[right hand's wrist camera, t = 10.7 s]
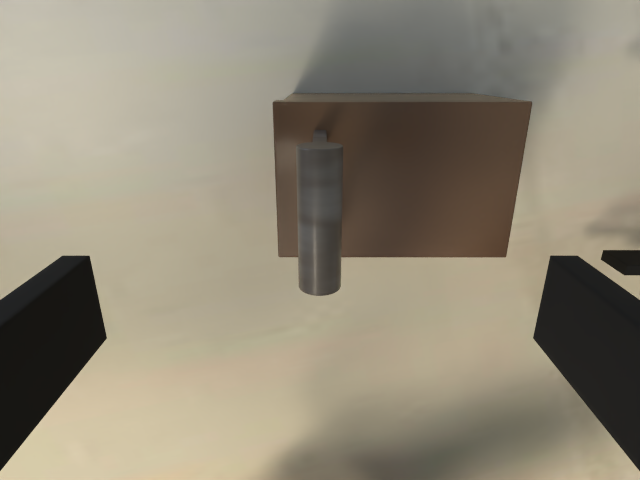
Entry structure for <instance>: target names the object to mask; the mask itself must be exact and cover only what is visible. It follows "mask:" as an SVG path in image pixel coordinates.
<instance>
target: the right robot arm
mask: <svg viewBox="0 0 640 480" xmlns="http://www.w3.org/2000/svg"><path fill="white" fill-rule="evenodd" d="M106 338H107V337H106V332H105V327H104V323H103V318H102V313H101V308H100V304H99V299H98V294H97V289H96V285H95V280H94V275H93V270H92V265H91V261H90V256H62V257H60V258H59V259H57V260H56V261H55V262H53V263H52V264H50V265H49V266H48V267H46V268H45V269H43V270H42V271H41V272H39V273H38V274H36V275H35V276H34V277H32V278H31V279H29V280H28V281H27V282H25V283H24V284H22V285H21V286H20V287H18V288H17V289H15V290H14V291H12V292H11V293H10V294H8V295H7V296H5V297H4V298H3V299H1V300H0V471H1V469H2V468H3V467H4V466H5V464H6V463H7V462H8V461H9V459H10V458H11V457H12V456H13V454H14V453H15V452H16V451H17V449H18V448H19V447H20V446H21V444H22V443H23V442H24V441H25V439H26V438H27V437H28V436H29V434H30V433H31V432H32V431H33V429H34V428H35V427H36V426H37V424H38V423H39V422H40V421H41V420H42V418H43V417H44V416H45V415H46V413H47V412H48V411H49V410H50V408H51V407H52V406H53V405H54V403H55V402H56V401H57V400H58V398H59V397H60V396H61V395H62V393H63V392H64V391H65V390H66V388H67V387H68V386H69V385H70V383H71V382H72V381H73V380H74V378H75V377H76V376H77V375H78V373H79V372H80V371H81V370H82V368H83V367H84V366H85V365H86V363H87V362H88V361H89V360H90V358H91V357H92V356H93V355H94V353H95V352H96V351H97V350H98V348H99V347H100V346H101V345H102V343H103V342H104V341H105V340H106ZM533 338H534V340H535V341H536V342H537V343H538V345H539V346H540V347H541V348H542V350H543V351H544V352H545V353H546V355H547V356H548V357H549V358H550V360H551V361H552V362H553V363H554V365H555V366H556V367H557V368H558V370H559V371H560V372H561V373H562V375H563V376H564V377H565V378H566V380H567V381H568V382H569V383H570V385H571V386H572V387H573V388H574V390H575V391H576V392H577V393H578V395H579V396H580V397H581V398H582V400H583V401H584V402H585V403H586V405H587V406H588V407H589V408H590V410H591V411H592V412H593V413H594V415H595V416H596V417H597V418H598V420H599V421H600V422H601V423H602V425H603V426H604V427H605V428H606V429H607V431H608V432H609V433H610V434H611V436H612V437H613V438H614V439H615V441H616V442H617V443H618V444H619V446H620V447H621V448H622V449H623V451H624V452H625V453H626V454H627V456H628V457H629V458H630V459H631V461H632V462H633V463H634V464H635V466H636V467H637V468H638V469H639V471H640V300H639V299H637V298H636V297H635V296H633V295H632V294H630V293H629V292H627V291H626V290H625V289H623V288H622V287H620V286H619V285H618V284H616V283H615V282H613V281H612V280H611V279H609V278H608V277H606V276H605V275H604V274H602V273H601V272H599V271H598V270H597V269H595V268H594V267H592V266H591V265H590V264H588V263H587V262H585V261H584V260H583V259H581V258H580V257H578V256H550V261H549V265H548V270H547V275H546V280H545V285H544V289H543V294H542V299H541V304H540V308H539V313H538V318H537V323H536V327H535V332H534V337H533Z"/></svg>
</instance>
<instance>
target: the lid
mask: <svg viewBox="0 0 640 480" xmlns="http://www.w3.org/2000/svg"><path fill="white" fill-rule="evenodd" d="M531 107H532V102H530V101H523V100H276V101H274V102H273V123H274V149H275V176H276V202H277V229H278V255H279V257H298V266H299V288H300V289H301V290H302V291H303V292H305V293H307V294H310V295H317V296H323V295H329V294H333V293H335V292H337V291H338V290H339V289H340V287H341V257H506V254H507V248H508V242H509V236H510V231H511V225H512V219H513V213H514V207H515V201H516V195H517V189H518V183H519V177H520V172H521V166H522V160H523V154H524V148H525V142H526V136H527V130H528V124H529V119H530V113H531Z"/></svg>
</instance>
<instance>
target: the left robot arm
mask: <svg viewBox="0 0 640 480" xmlns="http://www.w3.org/2000/svg"><path fill="white" fill-rule="evenodd" d="M601 260H602V261H604V262H605V263H607V264H608V265H610V266H611V267H613V268H614V269H616V270H617V271H619V272H620V273H622V274H623V275H640V250H603V253H602V257H601Z"/></svg>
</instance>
